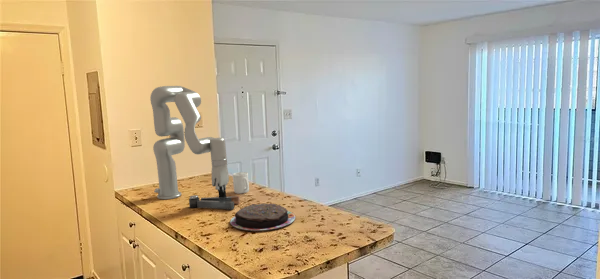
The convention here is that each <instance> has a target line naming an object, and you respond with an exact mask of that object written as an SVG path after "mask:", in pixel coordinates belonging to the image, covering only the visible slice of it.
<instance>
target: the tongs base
mask: <svg viewBox="0 0 600 279" xmlns="http://www.w3.org/2000/svg"><path fill="white" fill-rule="evenodd" d="M188 203H189V205H188V207H189V208H190V209H198V208H199V209H218V210H222V209H223V210H228V211H229V210H230V211H232V210H234V209H235V204H234V202H233V201H207V200H201V199H200V197H198V199H193V200H192V199H190V198H189V199H188Z"/></svg>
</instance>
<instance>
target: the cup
mask: <svg viewBox="0 0 600 279" xmlns="http://www.w3.org/2000/svg"><path fill="white" fill-rule="evenodd" d="M232 180H233V181H232V183H233V192H234V193H235V194H247V193H249V191H250V186H249V185H250V184H249V172H246V171H238V172H234V173H232Z"/></svg>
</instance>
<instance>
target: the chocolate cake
mask: <svg viewBox="0 0 600 279" xmlns="http://www.w3.org/2000/svg"><path fill="white" fill-rule="evenodd" d="M295 221H296V215H295V213H293V212H291V211H290V210H288V209H287V208H285V207H284V206H282V205H280V204H275V203H251V204H250V205H247V206H244V207H242V208H240V209H239V210H237V211H236V212H235V213H234V215H233V217H232V218H231V219H230V221H229V223H230V225H231V226H232V227H233V229H237V230H240V231H245V232H251V231H253V233H262V231H264V232H270V231H277V230H280V229H282V228H285V227H286V226H289V225H291V224H292V223H293V222H295Z"/></svg>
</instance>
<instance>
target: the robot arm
mask: <svg viewBox="0 0 600 279" xmlns="http://www.w3.org/2000/svg"><path fill="white" fill-rule="evenodd" d="M149 100H150V105H151V108H152V116H153V124H154V125H153V128H154V132H155V135H157V137H162V138H161V139H159V140H157V141H155V143H153V150H152V151H153V153H154V156H155V161H156V166H157V168H156V169H157V178H158V188H157V187H156V188H155V189H154V194H157V196H156V198H157V199H159V200H171V199H175V198H179V197H181V196H182V192H181V191H179V186H178V185H179V184H178V175H177V166H176V161H175V160H174V158H173V156H174V155H178V154H181V153H183V152H184V150H185V147H186V146H185V145H186V144H187V146H188V148H189V150H190V151H191V152H192V153H193V154H194V155H202V154H207V153H210V159H211V160H210V161H211V185H212V187H215V188H214V189H215V190H217V192H218V197H227V193H226V192H227V185H228V184H229V181H230V178H229V177H230V176H229V169H228V157H227V148H226V141H225V138H224V137H212V136H207V137H203V138H199V137H198V135H197V133H196V130H195V129H196V124H198V123H199V122H200V121H201V119H202V116H201V113H200V112H199V110H198V108H199V107H200V106H201V104H202V98H201V95H200V94H199V93H198V92H197V91H194V90H192V89H190V88H186V87H184V86H182V85H164V86H158V87H155V88H154V89H153V90H151V93H150V99H149ZM167 103H175V106H176V108H177V110H178V111H179V114H180V117H181V118H182V119H183V121H184V123H185V126H184V125H183V121H182V120H181V119H180V118H178V117H173V116H172V117H171V111H170V110H171V109H170V108H169V106H168V104H167ZM168 136H170V137H168ZM163 137H168V138H163ZM185 142H186V143H185Z"/></svg>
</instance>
